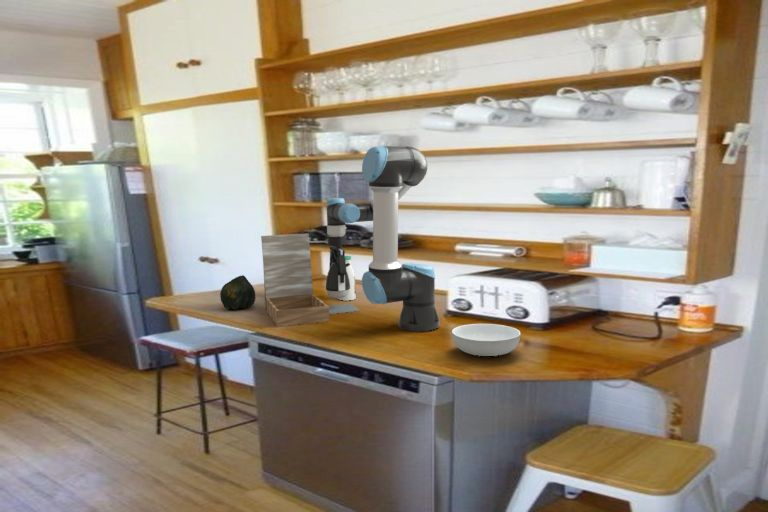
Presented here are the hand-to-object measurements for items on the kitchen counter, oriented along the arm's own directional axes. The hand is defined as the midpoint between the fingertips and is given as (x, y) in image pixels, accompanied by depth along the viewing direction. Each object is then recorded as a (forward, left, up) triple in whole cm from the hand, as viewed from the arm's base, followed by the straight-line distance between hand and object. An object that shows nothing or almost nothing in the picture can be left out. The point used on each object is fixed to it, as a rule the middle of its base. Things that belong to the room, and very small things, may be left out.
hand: (338, 288), depth 235 cm
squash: (+22, +39, -9) cm, 46 cm away
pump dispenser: (0, 0, -4) cm, 4 cm away
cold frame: (-2, +19, -9) cm, 21 cm away
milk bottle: (+18, -9, -9) cm, 22 cm away
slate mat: (0, 0, -9) cm, 9 cm away
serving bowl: (-77, -25, -9) cm, 82 cm away
